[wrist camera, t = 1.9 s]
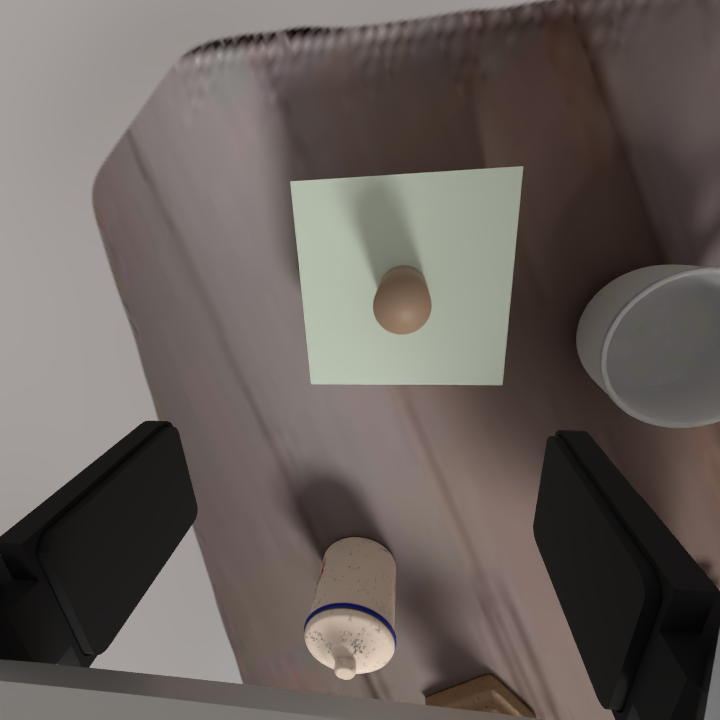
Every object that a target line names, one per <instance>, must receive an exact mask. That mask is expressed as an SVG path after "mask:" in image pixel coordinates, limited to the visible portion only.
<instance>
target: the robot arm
mask: <svg viewBox="0 0 720 720" xmlns="http://www.w3.org/2000/svg"><path fill="white" fill-rule="evenodd" d="M197 510H198V508H197V503H196V499H195V495H194V491H193V487H192V483H191V479H190V475H189V471H188V467H187V463H186V459H185V455H184V451H183V447H182V443H181V439H180V435H179V432H178V430H177V428H175V427H173V425H172V424H171V423H170V422H168V421H145V422H143V423H142V424H140V425H139V426H138V427H137V428H135V429H134V430H133V431H132V432H130V433H129V434H128V435H127V436H125V437H124V438H123V439H122V440H120V441H119V442H118V443H117V444H115V445H114V446H113V447H112V448H110V449H109V450H108V451H107V452H105V453H104V454H103V455H102V456H100V457H99V458H98V459H97V460H95V461H94V462H93V463H92V464H90V465H89V466H88V467H87V468H85V469H84V470H83V471H82V472H80V473H79V474H78V475H77V476H75V477H74V478H73V479H72V480H70V481H69V482H68V483H67V484H65V485H64V486H63V487H62V488H60V489H59V490H58V491H57V492H55V493H54V494H53V495H52V496H50V497H49V498H48V499H47V500H45V501H44V502H43V503H42V504H41V505H40V506H38V507H37V508H36V509H34V510H33V511H32V512H31V513H29V514H28V515H27V516H25V517H24V518H23V519H22V520H20V521H19V522H18V523H17V524H15V525H14V526H13V527H12V528H10V529H9V530H8V531H7V532H5V533H4V534H3V535H2V536H0V720H543V719H535V718H528V717H521V716H513V715H505V714H497V713H488V712H480V711H471V710H463V709H454V708H446V707H437V706H429V705H420V704H412V703H403V702H394V701H386V700H377V699H369V698H360V697H352V696H343V695H334V694H325V693H316V692H307V691H298V690H289V689H280V688H271V687H263V686H254V685H244V684H235V683H226V682H217V681H208V680H199V679H190V678H181V677H172V676H161V675H152V674H143V673H133V672H124V671H114V670H105V669H95V668H89V667H90V665H91V664H92V662H93V661H94V659H95V658H96V657H97V655H99V654H102V653H103V652H104V651H105V650H106V649H107V648H108V647H109V645H110V644H111V643H112V641H113V640H114V638H115V637H116V635H117V634H118V632H119V631H120V629H121V628H122V626H123V625H124V623H125V622H126V620H127V619H128V618H129V616H130V614H131V613H132V612H133V610H134V609H135V607H136V606H137V604H138V603H139V601H140V600H141V598H142V597H143V596H144V594H145V593H146V591H147V590H148V588H149V587H150V585H151V584H152V583H153V581H154V580H155V578H156V576H157V575H158V574H159V572H160V571H161V569H162V568H163V566H164V565H165V564H166V562H167V561H168V559H169V558H170V556H171V555H172V553H173V552H174V550H175V549H176V547H177V546H178V545H179V543H180V541H181V540H182V538H183V537H184V536H185V534H186V533H187V531H188V530H189V528H190V527H191V525H192V524H193V523H194V521H195V519H196V516H197ZM533 530H534V537H535V540H536V543H537V546H538V548H539V551H540V553H541V556H542V558H543V561H544V564H545V566H546V569H547V571H548V574H549V576H550V579H551V581H552V584H553V586H554V589H555V591H556V594H557V597H558V599H559V602H560V604H561V607H562V609H563V612H564V614H565V617H566V619H567V622H568V624H569V627H570V630H571V632H572V635H573V637H574V640H575V642H576V645H577V647H578V650H579V652H580V655H581V657H582V660H583V663H584V665H585V668H586V670H587V673H588V675H589V678H590V680H591V683H592V685H593V688H594V690H595V693H596V695H597V698H598V700H599V702H600V704H601V705H602V707H604V708H605V709H611V710H612V713H613V715H614V717H615V720H720V591H719V590H718V589H717V587H716V586H715V585H714V584H713V582H712V581H711V580H710V579H709V578H708V576H707V575H706V574H705V573H704V572H703V570H702V569H701V568H700V567H699V566H698V564H697V563H696V562H695V561H694V560H693V558H692V557H691V556H690V555H689V553H688V552H687V551H686V550H685V549H684V547H683V546H682V545H681V544H680V543H679V541H678V540H677V539H676V538H675V537H674V535H673V534H672V533H671V532H670V530H669V529H668V528H667V527H666V526H665V524H664V523H663V522H662V521H661V520H660V518H659V517H658V516H657V515H656V514H655V512H654V511H653V510H652V509H651V508H650V506H649V505H648V504H647V503H646V501H645V500H644V499H643V498H642V497H641V496H640V495H639V494H638V493H637V492H636V491H635V490H634V488H633V487H632V486H631V485H630V483H629V482H628V481H627V480H626V479H625V477H624V476H623V475H622V474H621V473H620V471H619V470H618V469H617V468H616V466H615V465H614V464H613V463H612V462H611V460H610V459H609V458H608V457H607V456H606V454H605V453H604V452H603V451H602V449H601V448H600V447H599V446H598V445H597V443H596V442H595V441H594V440H593V439H592V437H591V436H590V435H589V434H588V433H587V432H586V431H569V430H559V431H557V432H556V434H555V436H550V437H548V439H547V443H546V450H545V456H544V462H543V468H542V474H541V480H540V487H539V493H538V499H537V505H536V511H535V518H534V524H533ZM57 664H58V665H57Z"/></svg>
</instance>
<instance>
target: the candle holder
mask: <svg viewBox="0 0 720 720" xmlns="http://www.w3.org/2000/svg"><path fill="white" fill-rule="evenodd" d="M425 701H426V705H429V706H437V707H446V708H454V709H463V710H471V711H480V712H488V713H497V714H505V715H513V716H521V717H528V718H535V719H537V718H536V716H535V715H534V713H533V712H532V711H531V710H530V709H529V708H528V707H527V706H526V705H524V704H523V703H522V702H521V701H520V700H519V699H518V698H517V697H516V696H515V695H514V694H513V693H512V692H511V691H510V690H509V689H508V688H506V687H505V686H504V685H503V684H502V683H501V682H500V681H499V680H498V679H497V678H495V677H494V676H493V675H491V674H486V675H483V676H480V677H477V678H474V679H472V680H469V681H466V682H464V683H461V684H458V685H456V686H453V687H450V688H448V689H445V690H442V691H440V692H437V693H435V694H432V695H430V696H428V697H426V698H425Z"/></svg>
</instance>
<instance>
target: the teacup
mask: <svg viewBox="0 0 720 720" xmlns="http://www.w3.org/2000/svg"><path fill="white" fill-rule="evenodd" d="M576 345H577V351H578V355H579V358H580V361H581V363H582V365H583V367H584V368H585V370H586V371H587V373H588V374H589V376H590V377H591V378H592V379H593V380H594V381H595V382H596V383H597V384H598V386H599V387H600V388H601V389H602V390H604V391H605V392H606V393H607V394H608V395H609V396H610V398H611V399H612V400H613V402H614V403H615V404H616V405H617V406H618V407H619V408H620V409H622V410H623V411H624V412H625V413H627V414H629V415H630V416H632V417H634V418H636V419H638V420H640V421H642V422H646V423H648V424H653V425H656V426H661V427H668V428H688V427H698V426H703V425H707V424H712V423H715V422H719V421H720V267H702V266H692V265H656V266H649V267H644V268H640V269H637V270H634V271H631V272H629V273H626V274H624V275H622V276H620V277H618V278H616V279H614V280H613V281H611V282H610V283H608V284H607V285H606V286H604V287H603V288H602V289H601V290H600V291H599V292H598V293H597V294H596V295H595V296H594V297H593V298H592V299H591V301H590V302H589V303H588V305H587V306H586V308H585V310H584V312H583V314H582V316H581V318H580V321H579V324H578V328H577V334H576Z"/></svg>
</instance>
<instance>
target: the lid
mask: <svg viewBox="0 0 720 720" xmlns="http://www.w3.org/2000/svg"><path fill="white" fill-rule="evenodd" d="M522 175H523V166H518V167H503V168H488V169H473V170H457V171H442V172H427V173H411V174H396V175H381V176H365V177H350V178H335V179H320V180H304V181H290V184H291V194H292V204H293V213H294V223H295V233H296V242H297V252H298V262H299V271H300V281H301V290H302V300H303V310H304V319H305V329H306V339H307V348H308V358H309V368H310V377H311V384H375V385H503V375H504V364H505V354H506V343H507V333H508V322H509V312H510V301H511V291H512V280H513V270H514V259H515V249H516V238H517V228H518V217H519V207H520V196H521V186H522Z"/></svg>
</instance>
